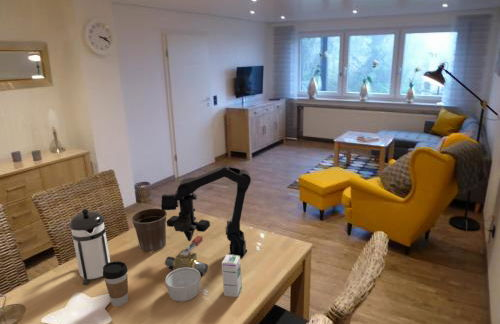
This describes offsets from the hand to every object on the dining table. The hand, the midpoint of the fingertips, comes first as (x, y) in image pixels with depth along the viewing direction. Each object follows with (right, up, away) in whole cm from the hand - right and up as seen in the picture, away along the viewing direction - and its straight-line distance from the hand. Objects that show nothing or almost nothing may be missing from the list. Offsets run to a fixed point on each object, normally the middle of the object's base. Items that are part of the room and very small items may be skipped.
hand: (189, 240), depth 156 cm
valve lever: (+2, -2, -5) cm, 6 cm away
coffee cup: (-22, -17, -26) cm, 37 cm away
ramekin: (+2, -15, -22) cm, 27 cm away
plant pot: (-20, -5, +13) cm, 24 cm away
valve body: (0, -11, -8) cm, 13 cm away
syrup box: (+20, -15, -22) cm, 33 cm away
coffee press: (-38, -12, -8) cm, 41 cm away
